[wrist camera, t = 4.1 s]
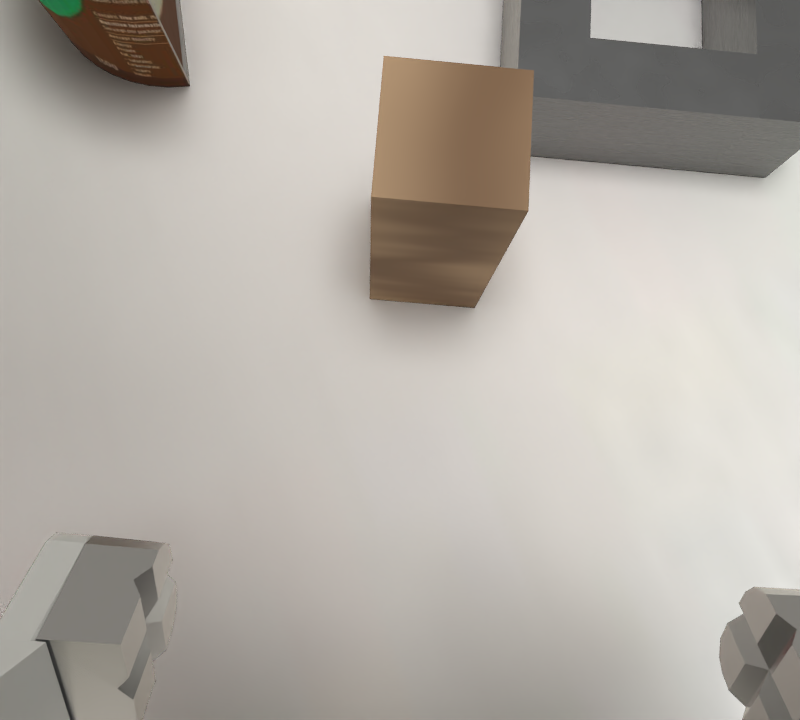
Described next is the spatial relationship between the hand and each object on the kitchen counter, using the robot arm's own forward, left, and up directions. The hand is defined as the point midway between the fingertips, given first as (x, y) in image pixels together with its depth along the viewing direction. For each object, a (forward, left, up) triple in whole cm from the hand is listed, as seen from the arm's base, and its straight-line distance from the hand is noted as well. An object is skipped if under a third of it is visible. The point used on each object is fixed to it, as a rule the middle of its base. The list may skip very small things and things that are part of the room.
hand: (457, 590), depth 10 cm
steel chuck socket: (+8, +21, -15) cm, 27 cm away
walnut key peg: (0, +11, -15) cm, 18 cm away
